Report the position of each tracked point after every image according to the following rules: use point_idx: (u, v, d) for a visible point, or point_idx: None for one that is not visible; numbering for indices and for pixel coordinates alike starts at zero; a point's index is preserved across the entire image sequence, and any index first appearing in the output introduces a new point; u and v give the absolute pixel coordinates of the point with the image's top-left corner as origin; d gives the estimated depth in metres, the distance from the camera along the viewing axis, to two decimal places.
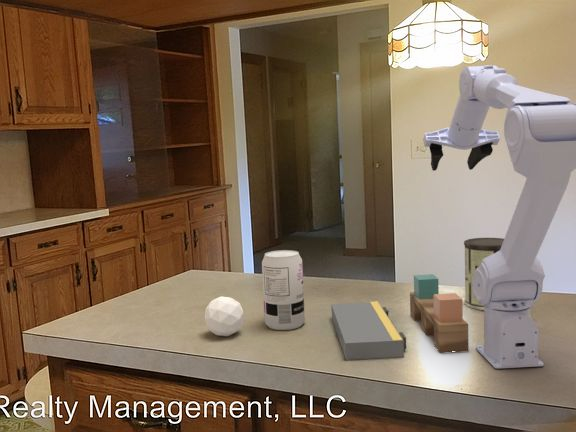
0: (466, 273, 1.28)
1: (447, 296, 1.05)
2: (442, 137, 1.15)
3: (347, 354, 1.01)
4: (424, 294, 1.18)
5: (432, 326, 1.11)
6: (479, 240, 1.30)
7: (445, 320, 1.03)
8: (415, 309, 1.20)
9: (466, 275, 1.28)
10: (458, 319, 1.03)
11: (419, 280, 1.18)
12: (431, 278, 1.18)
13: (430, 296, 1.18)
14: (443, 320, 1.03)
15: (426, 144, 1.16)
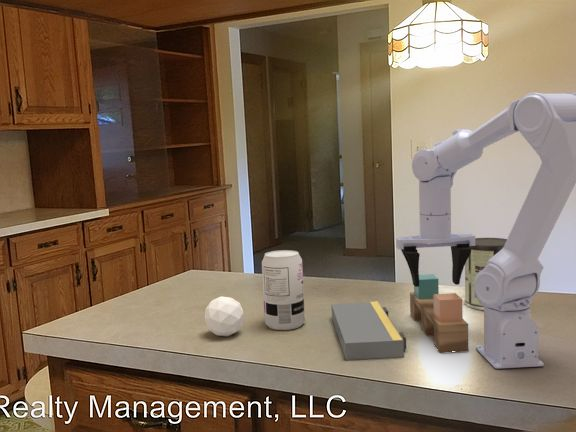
0: (466, 273, 1.28)
1: (447, 296, 1.05)
2: (414, 238, 1.11)
3: (347, 354, 1.01)
4: (424, 294, 1.18)
5: (432, 326, 1.11)
6: (479, 240, 1.30)
7: (445, 320, 1.03)
8: (415, 309, 1.20)
9: (466, 275, 1.28)
10: (458, 319, 1.03)
11: (419, 280, 1.18)
12: (431, 278, 1.18)
13: (430, 296, 1.18)
14: (443, 320, 1.03)
15: (399, 245, 1.10)
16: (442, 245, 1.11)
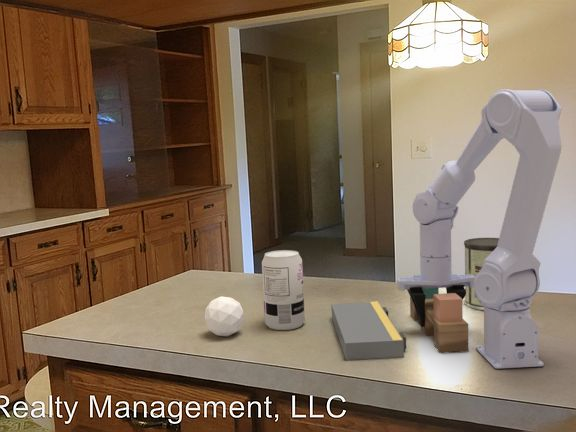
0: (466, 273, 1.28)
1: (447, 296, 1.05)
2: (415, 280, 1.12)
3: (347, 354, 1.01)
4: None
5: (432, 326, 1.11)
6: (479, 240, 1.30)
7: (445, 320, 1.03)
8: (415, 309, 1.20)
9: None
10: (458, 319, 1.03)
11: None
12: None
13: (430, 296, 1.18)
14: (443, 320, 1.03)
15: (400, 287, 1.11)
16: (442, 286, 1.12)
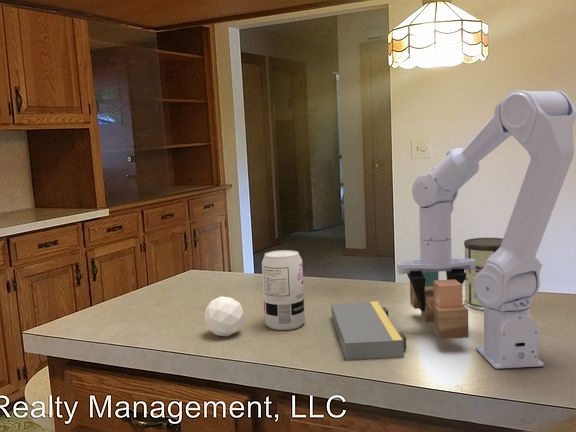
0: (466, 273, 1.28)
1: (447, 282, 1.04)
2: (415, 263, 1.11)
3: (347, 354, 1.01)
4: None
5: (432, 313, 1.11)
6: (479, 240, 1.30)
7: (445, 306, 1.03)
8: (415, 297, 1.20)
9: (466, 275, 1.28)
10: (458, 305, 1.03)
11: None
12: None
13: (430, 284, 1.18)
14: (443, 306, 1.03)
15: (400, 270, 1.11)
16: (442, 270, 1.11)
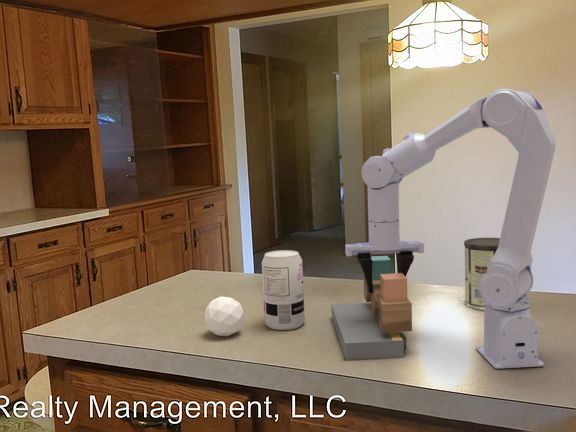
0: (466, 273, 1.28)
1: (393, 276, 1.04)
2: (363, 245, 1.11)
3: (347, 354, 1.01)
4: (376, 275, 1.17)
5: None
6: (479, 240, 1.30)
7: (390, 300, 1.02)
8: (367, 291, 1.20)
9: (466, 275, 1.28)
10: (403, 299, 1.02)
11: None
12: (384, 259, 1.17)
13: None
14: (388, 300, 1.02)
15: (347, 252, 1.10)
16: (391, 252, 1.11)
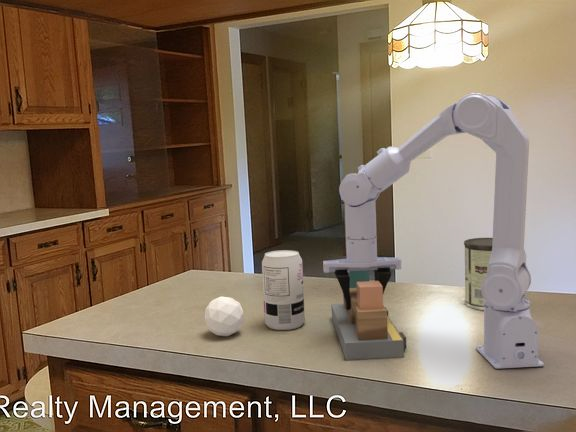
0: (466, 273, 1.28)
1: (368, 284, 1.04)
2: (341, 262, 1.11)
3: (347, 354, 1.01)
4: (354, 282, 1.17)
5: None
6: (479, 240, 1.30)
7: (366, 308, 1.02)
8: None
9: (466, 275, 1.28)
10: (378, 306, 1.02)
11: None
12: None
13: None
14: (363, 307, 1.02)
15: (325, 269, 1.10)
16: (368, 268, 1.11)
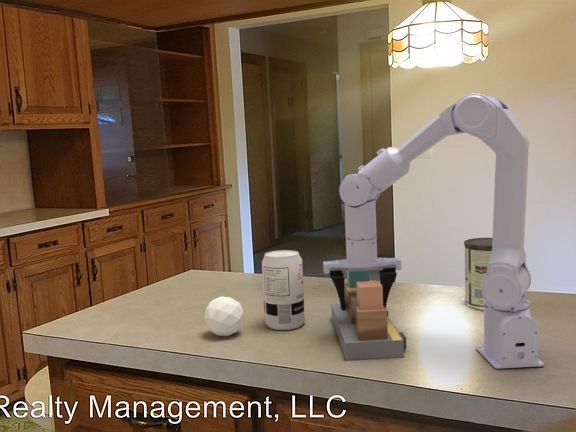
0: (466, 273, 1.28)
1: (368, 284, 1.04)
2: (341, 262, 1.11)
3: (347, 354, 1.01)
4: (354, 282, 1.17)
5: None
6: (479, 240, 1.30)
7: (366, 308, 1.02)
8: (346, 298, 1.20)
9: (466, 275, 1.28)
10: (378, 306, 1.02)
11: None
12: None
13: None
14: (363, 307, 1.02)
15: (325, 270, 1.10)
16: (368, 269, 1.11)
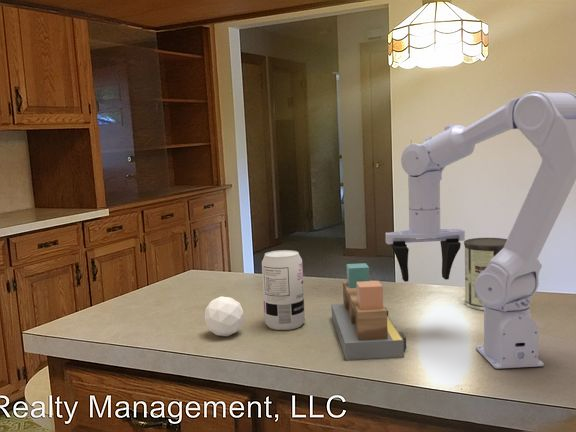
0: (466, 273, 1.28)
1: (368, 284, 1.04)
2: (404, 233, 1.10)
3: (347, 354, 1.01)
4: (354, 282, 1.17)
5: None
6: (479, 240, 1.30)
7: (366, 308, 1.02)
8: (346, 298, 1.20)
9: (466, 275, 1.28)
10: (378, 306, 1.02)
11: (349, 269, 1.17)
12: (362, 267, 1.18)
13: None
14: (363, 307, 1.02)
15: (388, 240, 1.10)
16: (431, 240, 1.11)
